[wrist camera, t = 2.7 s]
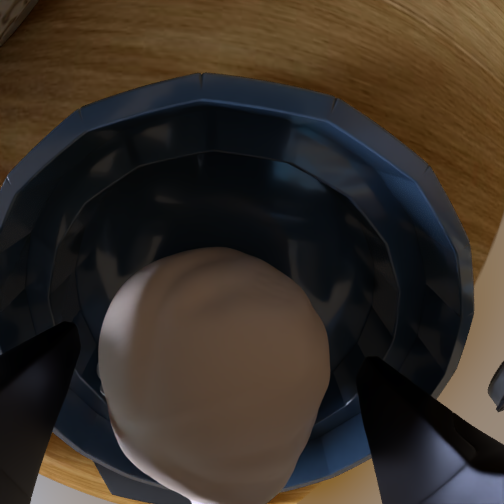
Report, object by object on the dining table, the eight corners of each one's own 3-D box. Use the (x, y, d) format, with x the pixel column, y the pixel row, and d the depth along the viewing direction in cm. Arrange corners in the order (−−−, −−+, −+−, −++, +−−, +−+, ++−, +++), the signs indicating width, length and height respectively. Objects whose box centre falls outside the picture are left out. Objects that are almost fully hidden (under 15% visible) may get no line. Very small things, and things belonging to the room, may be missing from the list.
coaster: (285, 442, 15) (287, 453, 14) (251, 505, 19) (252, 512, 19) (78, 413, 14) (74, 423, 13) (113, 487, 18) (111, 494, 17)
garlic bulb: (113, 336, 11) (42, 519, 4) (171, 188, 9) (-2, 403, 2) (259, 393, 12) (277, 567, 5) (348, 277, 10) (469, 480, 3)
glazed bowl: (442, 155, 9) (533, 182, 5) (337, 421, 14) (358, 489, 10) (51, 95, 8) (-41, 92, 4) (78, 393, 13) (51, 459, 9)
